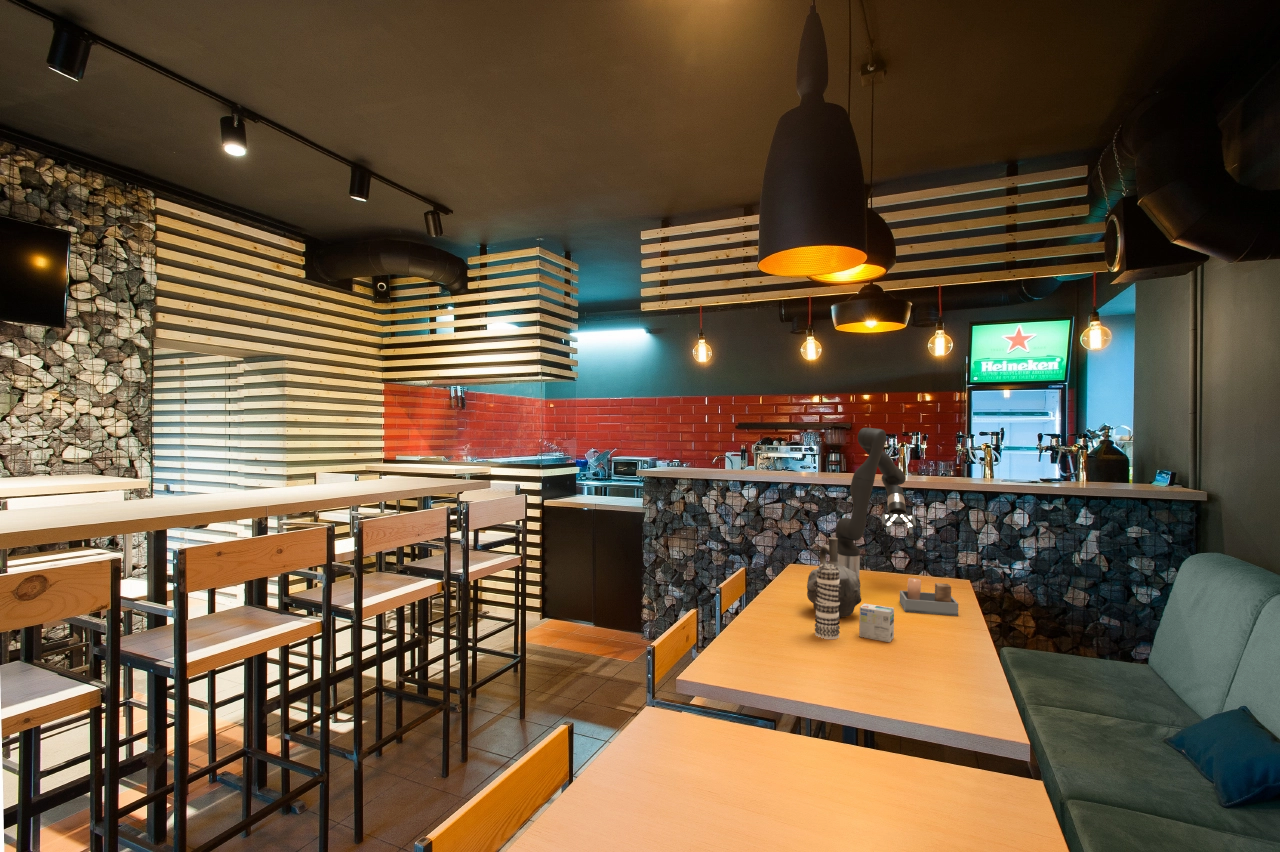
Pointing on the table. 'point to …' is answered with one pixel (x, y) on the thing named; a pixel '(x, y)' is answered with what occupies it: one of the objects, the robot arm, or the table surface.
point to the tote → (928, 605)
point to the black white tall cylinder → (827, 602)
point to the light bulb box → (876, 622)
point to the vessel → (847, 582)
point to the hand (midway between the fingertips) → (900, 534)
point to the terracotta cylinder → (914, 589)
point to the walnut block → (942, 592)
